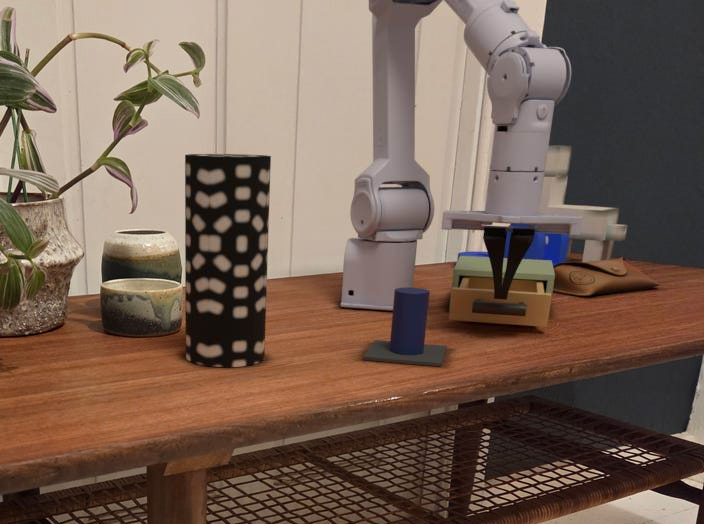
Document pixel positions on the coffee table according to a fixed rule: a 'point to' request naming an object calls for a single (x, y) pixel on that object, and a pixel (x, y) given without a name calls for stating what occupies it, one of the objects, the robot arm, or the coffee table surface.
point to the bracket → (536, 247)
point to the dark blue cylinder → (409, 321)
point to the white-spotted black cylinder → (226, 258)
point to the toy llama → (579, 209)
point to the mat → (382, 353)
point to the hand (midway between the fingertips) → (500, 297)
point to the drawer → (500, 302)
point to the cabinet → (525, 271)
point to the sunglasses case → (599, 277)
